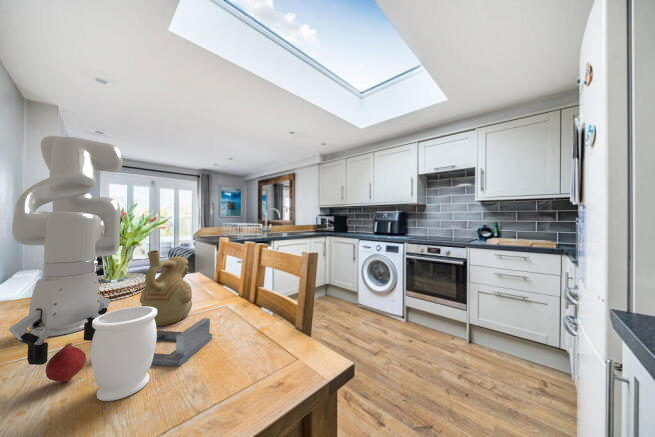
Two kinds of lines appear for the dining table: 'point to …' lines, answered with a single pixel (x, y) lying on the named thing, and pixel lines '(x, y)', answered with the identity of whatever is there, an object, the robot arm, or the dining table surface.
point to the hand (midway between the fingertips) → (67, 350)
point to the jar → (123, 351)
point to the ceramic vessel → (167, 289)
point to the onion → (65, 363)
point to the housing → (183, 343)
